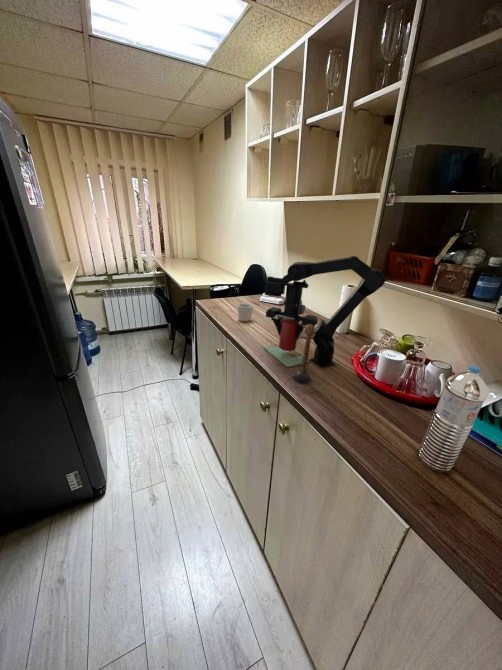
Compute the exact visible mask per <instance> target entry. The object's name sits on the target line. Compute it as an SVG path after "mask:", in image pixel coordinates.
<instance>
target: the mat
mask: <svg viewBox="0 0 502 670" xmlns="http://www.w3.org/2000/svg"><path fill="white" fill-rule="evenodd" d="M264 350H265V351H266V352H267V353H269V354H270V355H271V356H273V357H274V358H275V359H276V360H278V361H279V362H280V363H281V364H283V366H285V367H286V368H292V367H295V366H301V363H302V360H303V356H302V355H296V356H292V355H290V354H289V353H288V352H287V351H285V350H282V349H280V348H279V345H274V346H269V347H265V348H264ZM303 362H304V360H303ZM306 363H307V360H306ZM308 363H310V361H309V360H308Z"/></svg>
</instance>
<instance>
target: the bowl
mask: <svg viewBox="0 0 502 670" xmlns="http://www.w3.org/2000/svg"><path fill="white" fill-rule="evenodd" d="M299 324H300V321H299ZM316 326H318V323H317V324H316V325H315V326H314V328H315V327H316ZM313 337H314V335H313V336H310V338H313ZM299 338H308V335H306V333H305V329H303V331H302V333H301V335H300V337H299Z"/></svg>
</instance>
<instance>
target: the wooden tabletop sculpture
mask: <svg viewBox="0 0 502 670" xmlns="http://www.w3.org/2000/svg"><path fill="white" fill-rule="evenodd" d="M303 328H304V329H305V333H306V335H308V337H305V344H304V351H303V356H302V357H303V360H304V362H303V360H302V363H301V364H300V367H299V369H298V371H297V372H296V373H295V378H294V379H295V381H296V382H298V383H300V384H308V383H309V382H310V378H311V376H310V373H309V372H308V363H309V362H308V361H309V355H310V354H309V353H310V347H311V342H312V341H311V340H312V337H310V336H313V335H314V333H315V328H314V326H313V325H312V324H308V325H303ZM313 337H314V336H313ZM306 360H307V363H306Z"/></svg>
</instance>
